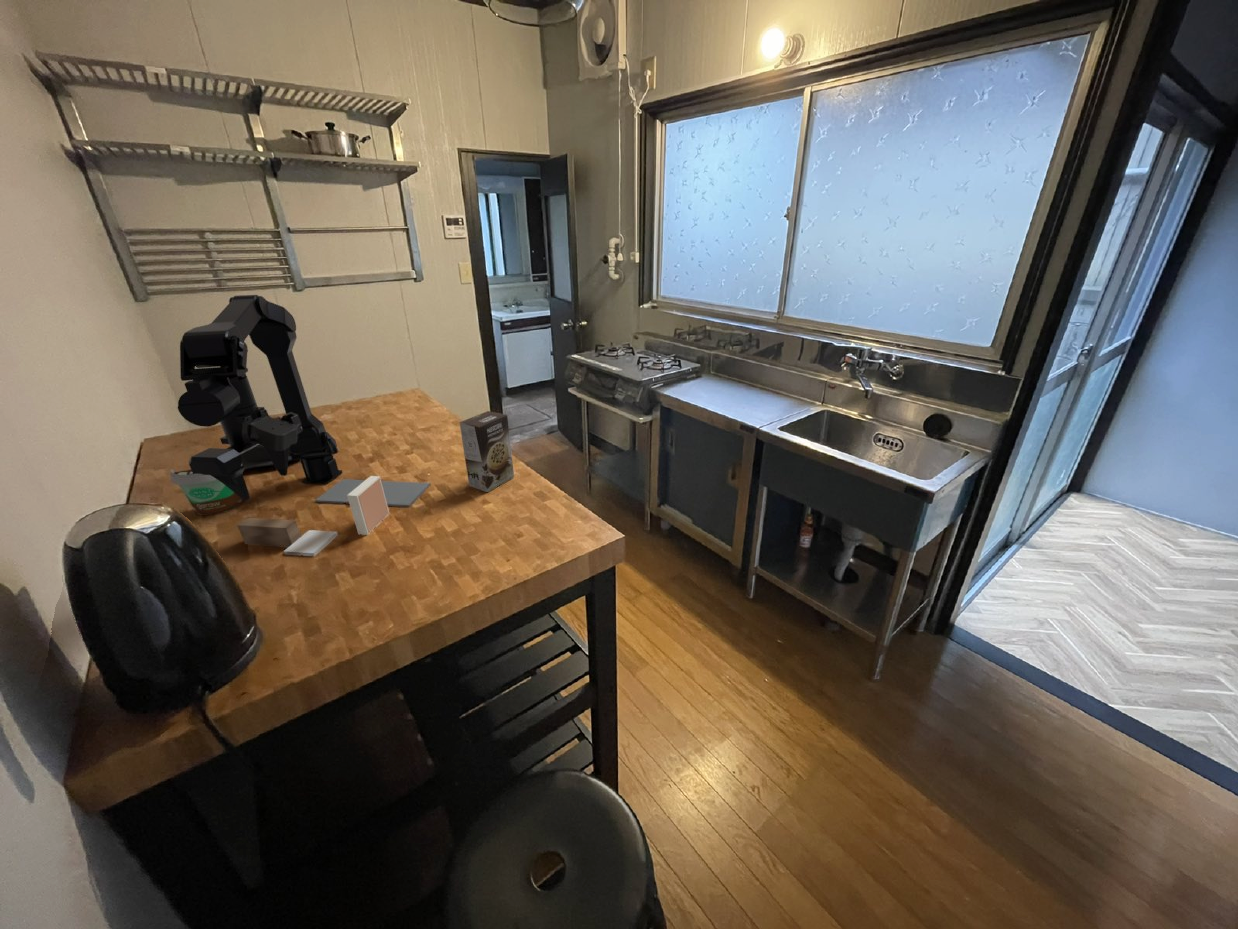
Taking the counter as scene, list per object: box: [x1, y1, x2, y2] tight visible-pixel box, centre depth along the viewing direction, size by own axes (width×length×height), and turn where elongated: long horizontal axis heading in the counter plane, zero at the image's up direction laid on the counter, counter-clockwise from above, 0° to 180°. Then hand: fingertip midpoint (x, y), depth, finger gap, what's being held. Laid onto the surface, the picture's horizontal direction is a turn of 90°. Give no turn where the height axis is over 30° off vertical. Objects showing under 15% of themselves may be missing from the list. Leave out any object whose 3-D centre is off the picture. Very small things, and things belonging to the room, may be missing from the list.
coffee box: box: [459, 410, 515, 493], centre depth 113 cm, size 9×6×16 cm
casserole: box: [241, 444, 293, 471], centre depth 128 cm, size 25×19×8 cm
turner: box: [237, 517, 339, 557], centre depth 94 cm, size 16×7×4 cm, turn 84°
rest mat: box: [314, 478, 432, 508], centre depth 112 cm, size 22×10×1 cm, turn 84°
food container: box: [170, 464, 247, 516], centre depth 104 cm, size 12×6×10 cm, turn 117°
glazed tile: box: [347, 475, 390, 536], centre depth 99 cm, size 2×8×9 cm, turn 174°
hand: (266, 486), depth 90 cm, fingers open, 9 cm apart
